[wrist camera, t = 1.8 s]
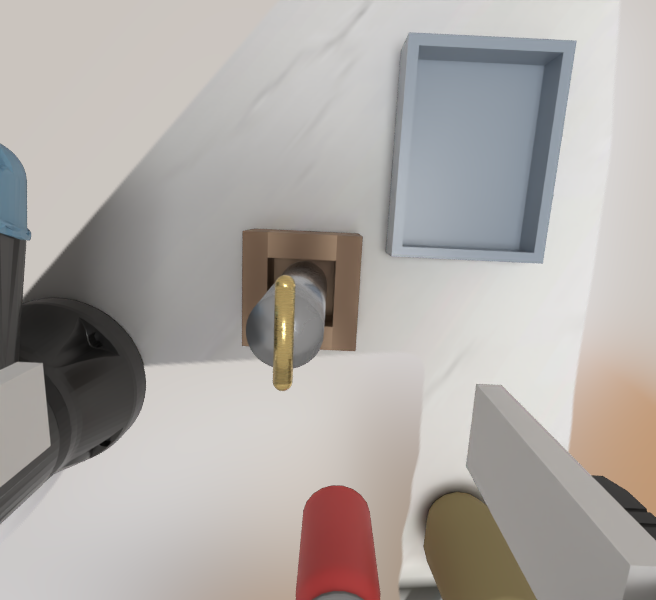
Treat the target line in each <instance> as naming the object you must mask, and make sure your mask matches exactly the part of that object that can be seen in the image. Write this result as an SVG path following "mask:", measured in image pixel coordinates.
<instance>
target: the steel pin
mask: <svg viewBox="0 0 656 600" xmlns="http://www.w3.org/2000/svg"><path fill="white" fill-rule="evenodd" d="M326 293H327V279H326V276H325V274H324V272H323V271H322V269H321V268H320V267H319V266H317V265H316V264H314V263H311V262H308V261H300V262H296V263H294V264H292V265H290V266H289V267H288V268H287V269H286V270H285V271H284V272H283V274H282V275H281V276H280V277H279V278H278V279H277V280H276V282H275V283H274V284H273V285H272V287H271V288H270V289H269V290H268V291H267V293H266V294H265V295H264V296H263V297H262V299H261V300H260V301H259V302H258V303H257V305H256V306H255V307H254V308H253V310H252V311H251V313H250V315H249V317H248V320H247V324H246V337H247V341H248V344H249V346H250V348H251V350H252V352H253V353H254V354H255V355H256V357H257V358H258V359H260V360H261V361H262V362H264V363H265V364H268V365H269V366H272V367H273V385H274V386H275V388H276V389H277V390H280V391H285V390H287V389H289V388H290V387H291V385H292V378H293V377H292V376H293V368H296V367H300V366H302V365H304V364H306V363H308V362H309V361H310V360H311V359H312V358H313V357H314V356H315V355H316V354H317V353H318V351H319V349H320V347H321V345H322V342H323V337H324V324H325V309H326Z"/></svg>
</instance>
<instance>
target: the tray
mask: <svg viewBox="0 0 656 600" xmlns="http://www.w3.org/2000/svg"><path fill="white" fill-rule="evenodd" d="M575 47H576V41H572V40H552V39H531V38H511V37H491V36H470V35H450V34H430V33H409V34H408V36H407V38H406V41H405V43H404V45H403V48H402V50H401V57H400V70H399V84H398V97H397V110H396V124H395V137H394V150H393V164H392V177H391V190H390V204H389V217H388V230H387V244H386V253H388V254H389V255H390V256H396V257H417V258H437V259H458V260H479V261H500V262H521V263H542V264H543V258H544V251H545V245H546V238H547V232H548V225H549V219H550V212H551V205H552V199H553V192H554V186H555V179H556V172H557V166H558V159H559V153H560V146H561V140H562V133H563V126H564V120H565V113H566V107H567V100H568V93H569V87H570V80H571V74H572V67H573V61H574V54H575Z"/></svg>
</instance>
